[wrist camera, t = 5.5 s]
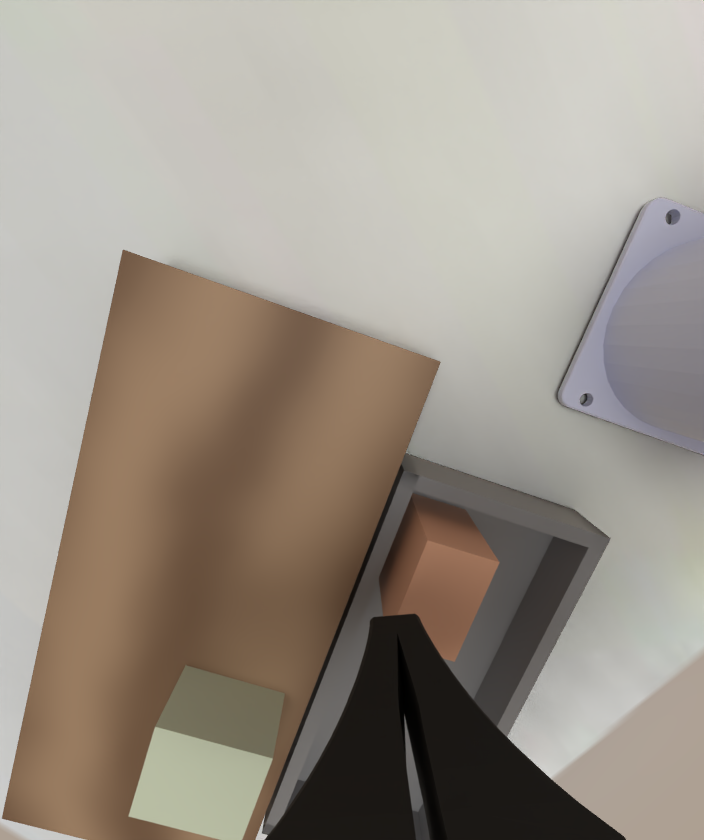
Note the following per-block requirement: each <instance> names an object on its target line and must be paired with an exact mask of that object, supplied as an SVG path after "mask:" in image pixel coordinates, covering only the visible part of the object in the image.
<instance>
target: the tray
mask: <svg viewBox="0 0 704 840" xmlns="http://www.w3.org/2000/svg"><path fill="white" fill-rule="evenodd" d="M412 493H414V494H417V495H420V496H424V497H427V498H430V499H433V500H436V501H439V502H443V503H446V504H449V505H452V506H455V507H459V508H462V509H465V510H466V511H467V513H468V514H469V516H470V517H471V519H472V520H473V522H474V524H475V525H476V527H477V528H478V530H479V531H480V533H481V534H482V536H483V537H484V539H485V540H486V542H487V544H488V545H489V547H490V548H491V550H492V551H493V553H494V554H495V556H496V557H497V559H498V561H499V562H500V563H499V565H498V567H497V569H496V571H495V574H494V576H493V578H492V580H491V583H490V585H489V587H488V589H487V591H486V594H485V596H484V598H483V600H482V602H481V605H480V607H479V609H478V611H477V614H476V616H475V618H474V620H473V622H472V625H471V627H470V629H469V631H468V633H467V636H466V638H465V640H464V642H463V645H462V647H461V649H460V651H459V653H458V656H457V658H456V660H455V662H453V661H450V660H446V659H444V661H445V662H446V664H447V665H448V667H449V668H450V670H451V671H452V673H453V674H454V675H455V677H456V678H457V679H458V681H459V682H460V683H461V685H462V686H463V687H464V689H465V690H466V691H467V692H468V694H469V695H470V696H471V697H472V699H473V700H474V701H475V702H476V704H477V705H478V706H479V707H480V708H481V709H482V711H483V712H484V713H485V714H486V715H487V716H488V717H489V719H490V720H491V721H492V722H493V723H494V724H495V725H496V726H497V727H498V728H499V730H500V731H501V732H502V733H503V734H504V735H505V736H506V737H507V736H508V734H509V732H510V730H511V728H512V726H513V724H514V722H515V720H516V718H517V716H518V715H519V713H520V711H521V709H522V707H523V705H524V703H525V701H526V699H527V697H528V695H529V694H530V692H531V690H532V688H533V686H534V684H535V682H536V680H537V678H538V676H539V674H540V673H541V671H542V669H543V667H544V665H545V663H546V661H547V659H548V657H549V655H550V653H551V652H552V650H553V648H554V646H555V644H556V642H557V640H558V638H559V636H560V634H561V632H562V631H563V629H564V627H565V625H566V623H567V621H568V619H569V617H570V615H571V613H572V611H573V609H574V608H575V606H576V604H577V602H578V600H579V598H580V596H581V594H582V592H583V590H584V588H585V587H586V585H587V583H588V581H589V579H590V577H591V575H592V573H593V571H594V569H595V567H596V566H597V564H598V562H599V560H600V558H601V556H602V554H603V552H604V550H605V548H606V546H607V545H608V543H609V541H610V538H609V537H608V536H607V535H605V534H604V533H603V532H602V531H600V530H599V529H598V528H597V527H595V526H594V525H593V524H592V523H590V522H589V521H588V520H587V519H585V518H584V517H583V516H582V515H580V514H579V513H578V512H577V511H575V510H573V509H570V508H567V507H564V506H561V505H558V504H555V503H552V502H550V501H547V500H544V499H541V498H538V497H535V496H532V495H529V494H526V493H523V492H520V491H517V490H514V489H511V488H508V487H505V486H502V485H499V484H496V483H493V482H490V481H487V480H484V479H481V478H478V477H475V476H472V475H469V474H466V473H463V472H460V471H457V470H454V469H451V468H448V467H445V466H442V465H439V464H436V463H433V462H430V461H427V460H424V459H421V458H418V457H415V456H412V455H409V454H406V453H405V455H404V458H403V460H402V463H401V465H400V468H399V470H398V473H397V476H396V478H395V481H394V483H393V486H392V488H391V491H390V494H389V496H388V499H387V501H386V504H385V506H384V509H383V512H382V514H381V517H380V519H379V522H378V524H377V527H376V530H375V532H374V535H373V537H372V540H371V543H370V545H369V548H368V550H367V553H366V555H365V558H364V561H363V563H362V566H361V568H360V571H359V573H358V576H357V579H356V581H355V584H354V586H353V589H352V591H351V594H350V597H349V599H348V602H347V604H346V607H345V609H344V612H343V615H342V617H341V620H340V622H339V625H338V627H337V630H336V633H335V635H334V638H333V640H332V643H331V646H330V648H329V651H328V653H327V656H326V658H325V661H324V664H323V666H322V669H321V671H320V674H319V676H318V679H317V682H316V684H315V687H314V689H313V692H312V694H311V697H310V700H309V702H308V705H307V707H306V710H305V712H304V715H303V718H302V720H301V723H300V725H299V728H298V730H297V733H296V736H295V738H294V741H293V743H292V746H291V749H290V751H289V754H288V756H287V759H286V761H285V764H284V767H283V769H282V772H281V774H280V777H279V779H278V782H277V785H276V787H275V790H274V792H273V795H272V797H271V800H270V803H269V805H268V808H267V810H266V814H265V819H264V825H263V830H262V833H263V834H267V835H269V833H270V832H271V831H272V830H273V828H274V827H275V826H276V824H277V823H278V822H279V820H280V819H281V817H282V816H283V815H284V813H285V812H286V810H287V809H288V807H289V806H290V804H291V803H292V801H293V800H294V798H295V797H296V795H297V794H298V792H299V791H300V789H301V788H302V786H303V784H304V783H305V781H306V780H307V778H308V777H309V775H310V773H311V772H312V770H313V768H314V767H315V765H316V763H317V762H318V760H319V758H320V756H321V754H322V752H323V751H324V749H325V747H326V745H327V743H328V741H329V740H330V738H331V736H332V734H333V732H334V729H335V727H336V725H337V723H338V721H339V719H340V717H341V715H342V712H343V710H344V708H345V706H346V703H347V701H348V698H349V695H350V693H351V690H352V688H353V685H354V683H355V680H356V677H357V674H358V671H359V668H360V665H361V661H362V658H363V655H364V651H365V647H366V643H367V639H368V634H369V627H370V620H371V619H372V618H373V617H379V616H383V610H382V602H381V593H380V584H379V576H380V573H381V571H382V568H383V566H384V563H385V561H386V558H387V556H388V553H389V551H390V548H391V546H392V543H393V541H394V538H395V536H396V533H397V531H398V528H399V526H400V523H401V521H402V518H403V516H404V513H405V511H406V508H407V506H408V503H409V501H410V498H411V496H412ZM404 719H405V715H404ZM405 742H406V766H407V775H408V783H409V790H410V798H411V805H412V813H413V820H414V827H415V834H416V840H430V837H429V831H428V825H427V820H426V814H425V809H424V804H423V799H422V795H421V790H420V785H419V781H418V776H417V771H416V767H415V762H414V757H413V753H412V748H411V743H410V739H409V734H408V729H407V725H406V720H405Z"/></svg>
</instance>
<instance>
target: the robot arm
mask: <svg viewBox="0 0 704 840" xmlns="http://www.w3.org/2000/svg"><path fill="white" fill-rule="evenodd" d="M667 213H669V214H670V215H671V217H672V221H671V223H670V225H669V224H668V223H666V219H665V218H666V214H667ZM585 393H586V394H587V397H588V398H587V401H586V402H585V403H584V404H582V405H581V404H580V397H581V396H582V395H583V394H585ZM558 400H559V402H560V403H561V404H562V405H564V406H566V407H569V408H572V409H574V410H577V411H580V412H583V413H586V414H589V415H591V416H594V417H597V418H600V419H603V420H606V421H608V422H611V423H614V424H617V425H620V426H623V427H625V428H628V429H631V430H634V431H637V432H640V433H642V434H645V435H648V436H651V437H654V438H657V439H659V440H662V441H665V442H668V443H671V444H673V445H676V446H679V447H682V448H685V449H688V450H690V451H693V452H696V453H699V454H702V455H704V213H702V212H700V211H697V210H695V209H692V208H690V207H687V206H685V205H682V204H680V203H677V202H675V201H672V200H670V199H667V198H662V197H660V198H656V199H654V200H651V201H649V202H648V203H646V204H645V205H644V206H643V208H642V209H641V211H640V213H639V216H638V218H637V220H636V222H635V224H634V227H633V229H632V231H631V233H630V235H629V238H628V240H627V242H626V244H625V246H624V249H623V251H622V253H621V255H620V257H619V259H618V262H617V264H616V266H615V268H614V270H613V273H612V275H611V277H610V279H609V281H608V284H607V286H606V288H605V290H604V292H603V295H602V297H601V299H600V301H599V303H598V306H597V308H596V310H595V312H594V314H593V317H592V319H591V321H590V323H589V325H588V327H587V330H586V332H585V334H584V336H583V338H582V341H581V343H580V345H579V347H578V349H577V352H576V354H575V356H574V358H573V360H572V363H571V365H570V367H569V369H568V371H567V374H566V376H565V378H564V380H563V382H562V385H561V387H560V389H559V392H558ZM404 715H405V719H404ZM405 720H406V725H407V729H408V734H409V739H410V743H411V748H412V753H413V757H414V762H415V767H416V771H417V776H418V781H419V785H420V790H421V795H422V799H423V804H424V809H425V814H426V820H427V825H428V831H429V837H430V840H626V839H625V837H624V836H622V835H621V834H620V833H618V832H617V831H616V830H615V829H613V828H612V827H610V826H609V825H608V824H606V823H605V822H604V821H602V820H601V819H600V818H598V817H597V816H596V815H595V814H593V813H592V812H591V811H589V810H588V809H587V808H585V807H584V806H583V805H581V804H580V803H579V802H578V801H576V800H575V799H574V798H573V797H571V796H570V795H569V794H568V793H567V792H566V791H564V790H563V789H562V788H561V787H560V786H558V785H557V784H556V783H555V782H554V781H553V780H551V779H550V778H549V777H548V776H547V775H546V774H545V773H544V772H543V771H542V770H541V769H540V768H538V767H537V766H536V765H535V764H534V763H533V762H532V761H531V760H530V759H529V758H528V757H527V756H526V755H524V754H523V753H522V752H521V751H520V750H519V749H518V748H517V747H516V746H515V745H514V744H513V743H512V742H511V741H510V740H509V739H508V738H507V737H506V736H505V735H504V734H503V733H502V732H501V731H500V730H499V728H498V727H497V726H496V725H495V724H494V723H493V722H492V721H491V720H490V719H489V717H488V716H487V715H486V714H485V713H484V712H483V711H482V709H481V708H480V707H479V706H478V705H477V704H476V702H475V701H474V700H473V699H472V697H471V696H470V695H469V694H468V692H467V691H466V690H465V689H464V687H463V686H462V685H461V683H460V682H459V681H458V679H457V678H456V677H455V675H454V674H453V673H452V671H451V670H450V668H449V667H448V665H447V664H446V662H445V661H444V659H443V658H442V657H441V655H440V653H439V652H438V650H437V649H436V647H435V646H434V644H433V642H432V641H431V639H430V637H429V635H428V634H427V632H426V630H425V628H424V626H423V624H422V622H421V620H420V617H419V616H418V615H417V614H403V615H391V616H379V617H373V618H372V619H371V620H370V627H369V634H368V639H367V643H366V647H365V651H364V655H363V658H362V661H361V665H360V668H359V671H358V674H357V677H356V680H355V683H354V685H353V688H352V690H351V693H350V695H349V698H348V701H347V703H346V706H345V708H344V710H343V712H342V715H341V717H340V719H339V721H338V723H337V725H336V727H335V729H334V732H333V734H332V736H331V738H330V740H329V741H328V743H327V745H326V747H325V749H324V751H323V752H322V754H321V756H320V758H319V760H318V762H317V763H316V765H315V767H314V768H313V770H312V772H311V773H310V775H309V777H308V778H307V780H306V781H305V783H304V784H303V786H302V788H301V789H300V791H299V792H298V794H297V795H296V797H295V798H294V800H293V801H292V803H291V804H290V806H289V807H288V809H287V810H286V812H285V813H284V815H283V816H282V817H281V819H280V820H279V822H278V823H277V824H276V826H275V827H274V828H273V830H272V831H271V832H270V833H269V835H268V836H267V837H266V839H265V840H416V834H415V827H414V820H413V813H412V805H411V798H410V790H409V783H408V775H407V766H406V742H405Z"/></svg>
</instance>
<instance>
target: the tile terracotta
mask: <svg viewBox="0 0 704 840" xmlns="http://www.w3.org/2000/svg"><path fill="white" fill-rule="evenodd" d="M499 563H500V562H499V561H498V559H497V557H496V556H495V554H494V553H493V551H492V550H491V548H490V547H489V545H488V544H487V542H486V540H485V539H484V537H483V536H482V534H481V533H480V531H479V530H478V528H477V527H476V525H475V524H474V522H473V520H472V519H471V517H470V516H469V514H468V513H467V511H466V510H465V509H462V508H459V507H455V506H452V505H449V504H446V503H443V502H439V501H436V500H433V499H430V498H427V497H424V496H420V495H417V494H414V493H412V496H411V498H410V501H409V503H408V506H407V508H406V511H405V513H404V516H403V518H402V521H401V523H400V526H399V528H398V531H397V533H396V536H395V538H394V541H393V543H392V546H391V548H390V551H389V553H388V556H387V558H386V561H385V563H384V566H383V568H382V571H381V573H380V576H379V584H380V593H381V602H382V610H383V616H391V615H403V614H417V615H418V616H419V617H420V620H421V622H422V624H423V626H424V628H425V630H426V632H427V634H428V635H429V637H430V639H431V641H432V642H433V644H434V646H435V647H436V649H437V650H438V652H439V653H440V655H441V657H442V658H443V659H446V660H450V661H453V662H455V660H456V658H457V656H458V653H459V651H460V649H461V647H462V645H463V642H464V640H465V638H466V636H467V633H468V631H469V629H470V627H471V625H472V622H473V620H474V618H475V616H476V614H477V611H478V609H479V607H480V605H481V602H482V600H483V598H484V596H485V594H486V591H487V589H488V587H489V585H490V583H491V580H492V578H493V576H494V574H495V571H496V569H497V567H498V565H499Z"/></svg>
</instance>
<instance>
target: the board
mask: <svg viewBox="0 0 704 840" xmlns="http://www.w3.org/2000/svg"><path fill="white" fill-rule="evenodd" d="M439 365H440V362H439V361H437V360H434V359H431V358H428V357H425V356H422V355H420V354H417V353H414V352H411V351H408V350H406V349H403V348H400V347H397V346H394V345H391V344H389V343H386V342H383V341H380V340H377V339H374V338H372V337H369V336H366V335H363V334H360V333H357V332H355V331H352V330H349V329H346V328H343V327H340V326H338V325H335V324H332V323H329V322H326V321H324V320H321V319H318V318H315V317H312V316H309V315H307V314H304V313H301V312H298V311H295V310H292V309H290V308H287V307H284V306H281V305H278V304H275V303H273V302H270V301H267V300H264V299H261V298H258V297H256V296H253V295H250V294H247V293H244V292H241V291H239V290H236V289H233V288H230V287H227V286H225V285H222V284H219V283H216V282H213V281H210V280H208V279H205V278H202V277H199V276H196V275H193V274H191V273H188V272H185V271H182V270H179V269H176V268H174V267H171V266H168V265H165V264H162V263H159V262H157V261H154V260H151V259H148V258H145V257H142V256H140V255H137V254H134V253H131V252H128V251H126V250H123V252H122V256H121V261H120V266H119V270H118V275H117V280H116V284H115V289H114V294H113V299H112V303H111V308H110V313H109V317H108V322H107V327H106V332H105V336H104V341H103V346H102V350H101V355H100V360H99V364H98V369H97V374H96V379H95V383H94V388H93V393H92V397H91V402H90V407H89V412H88V416H87V421H86V426H85V430H84V435H83V440H82V444H81V449H80V454H79V459H78V463H77V468H76V473H75V477H74V482H73V487H72V491H71V496H70V501H69V506H68V510H67V515H66V520H65V524H64V529H63V534H62V539H61V543H60V548H59V553H58V557H57V562H56V567H55V571H54V576H53V581H52V586H51V590H50V595H49V600H48V604H47V609H46V614H45V619H44V623H43V628H42V633H41V637H40V642H39V647H38V651H37V656H36V661H35V666H34V670H33V675H32V680H31V684H30V689H29V694H28V698H27V703H26V708H25V713H24V717H23V722H22V727H21V731H20V736H19V741H18V746H17V750H16V755H15V760H14V764H13V769H12V774H11V778H10V783H9V788H8V793H7V797H6V802H5V807H4V811H3V816H2V819H6V820H10V821H14V822H18V823H22V824H26V825H30V826H34V827H38V828H42V829H46V830H50V831H54V832H58V833H62V834H66V835H70V836H74V837H78V838H82V839H86V840H219V839H215V838H211V837H208V836H204V835H200V834H196V833H192V832H188V831H184V830H180V829H176V828H172V827H168V826H164V825H160V824H156V823H153V822H149V821H145V820H141V819H137V818H133V817H129V813H130V809H131V806H132V803H133V799H134V796H135V793H136V789H137V786H138V782H139V779H140V776H141V772H142V769H143V766H144V762H145V759H146V756H147V752H148V749H149V745H150V742H151V739H152V735H153V732H154V729H155V726H156V724H157V722H158V720H159V718H160V716H161V714H162V712H163V710H164V708H165V706H166V704H167V702H168V700H169V698H170V696H171V694H172V692H173V690H174V688H175V686H176V684H177V682H178V680H179V678H180V676H181V674H182V672H183V670H184V668H185V666H186V665H187V666H190V667H194V668H197V669H201V670H204V671H208V672H211V673H215V674H218V675H222V676H225V677H229V678H233V679H236V680H240V681H243V682H247V683H250V684H254V685H257V686H261V687H264V688H268V689H271V690H275V691H278V692H282V693H285V696H284V701H283V707H282V712H281V718H280V723H279V728H278V734H277V739H276V745H275V750H274V756H273V760H272V762H271V765H270V768H269V770H268V773H267V776H266V778H265V781H264V784H263V786H262V789H261V791H260V794H259V797H258V799H257V802H256V805H255V807H254V810H253V813H252V815H251V818H250V820H249V823H248V826H247V828H246V831H245V834H244V836H243V839H242V840H255V839H256V836H257V833H258V831H259V828H260V826H261V823H262V821H263V818H264V815H265V813H266V810H267V808H268V805H269V803H270V800H271V797H272V795H273V792H274V790H275V787H276V785H277V782H278V779H279V777H280V774H281V772H282V769H283V767H284V764H285V761H286V759H287V756H288V754H289V751H290V749H291V746H292V743H293V741H294V738H295V736H296V733H297V730H298V728H299V725H300V723H301V720H302V718H303V715H304V712H305V710H306V707H307V705H308V702H309V700H310V697H311V694H312V692H313V689H314V687H315V684H316V682H317V679H318V676H319V674H320V671H321V669H322V666H323V664H324V661H325V658H326V656H327V653H328V651H329V648H330V646H331V643H332V640H333V638H334V635H335V633H336V630H337V627H338V625H339V622H340V620H341V617H342V615H343V612H344V609H345V607H346V604H347V602H348V599H349V597H350V594H351V591H352V589H353V586H354V584H355V581H356V579H357V576H358V573H359V571H360V568H361V566H362V563H363V561H364V558H365V555H366V553H367V550H368V548H369V545H370V543H371V540H372V537H373V535H374V532H375V530H376V527H377V524H378V522H379V519H380V517H381V514H382V512H383V509H384V506H385V504H386V501H387V499H388V496H389V494H390V491H391V488H392V486H393V483H394V481H395V478H396V476H397V473H398V470H399V468H400V465H401V463H402V460H403V458H404V455H405V452H406V450H407V447H408V445H409V442H410V440H411V437H412V434H413V432H414V429H415V427H416V424H417V421H418V419H419V416H420V414H421V411H422V409H423V406H424V403H425V401H426V398H427V396H428V393H429V391H430V388H431V385H432V383H433V380H434V378H435V375H436V373H437V370H438V367H439Z"/></svg>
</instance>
